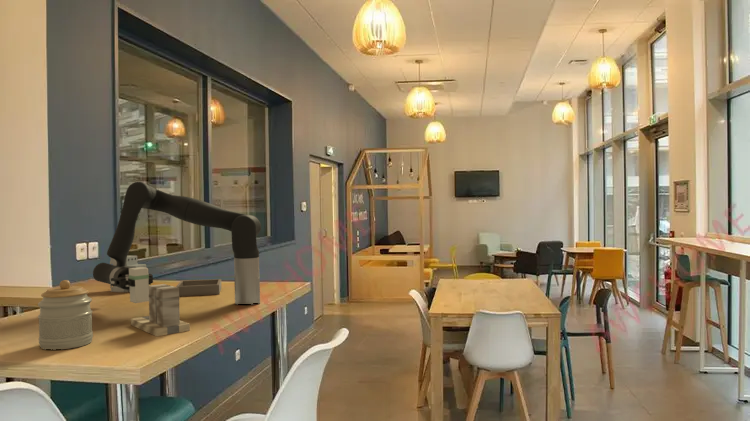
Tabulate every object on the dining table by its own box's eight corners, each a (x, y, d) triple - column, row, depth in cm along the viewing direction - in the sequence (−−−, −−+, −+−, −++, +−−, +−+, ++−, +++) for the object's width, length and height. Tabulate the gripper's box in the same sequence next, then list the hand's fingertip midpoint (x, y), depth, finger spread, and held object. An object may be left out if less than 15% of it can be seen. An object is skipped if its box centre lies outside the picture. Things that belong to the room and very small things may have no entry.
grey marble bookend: (131, 325, 174) (130, 283, 174) (162, 320, 181) (161, 280, 180) (156, 336, 159) (155, 291, 159) (189, 330, 166) (188, 287, 165)
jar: (35, 353, 143) (33, 285, 142) (42, 341, 155) (41, 278, 154) (91, 347, 148) (89, 281, 148) (94, 336, 160) (93, 275, 159)
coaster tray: (221, 288, 246) (221, 279, 245) (219, 294, 229) (219, 284, 229) (181, 289, 242) (180, 280, 242) (176, 296, 225) (175, 286, 225)
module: (129, 301, 184) (128, 268, 183) (144, 299, 187) (142, 266, 186) (135, 303, 180) (134, 269, 179) (149, 301, 183) (148, 268, 183)
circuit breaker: (139, 292, 236) (139, 257, 236) (110, 291, 239) (109, 257, 239) (150, 289, 244) (149, 255, 243) (121, 289, 247) (120, 255, 246)
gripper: (101, 269, 189) (118, 273, 176) (144, 265, 198) (163, 268, 186) (102, 291, 189) (119, 297, 176) (145, 285, 199) (164, 290, 186)
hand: (142, 282), depth 181 cm, fingers closed on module, 4 cm apart
